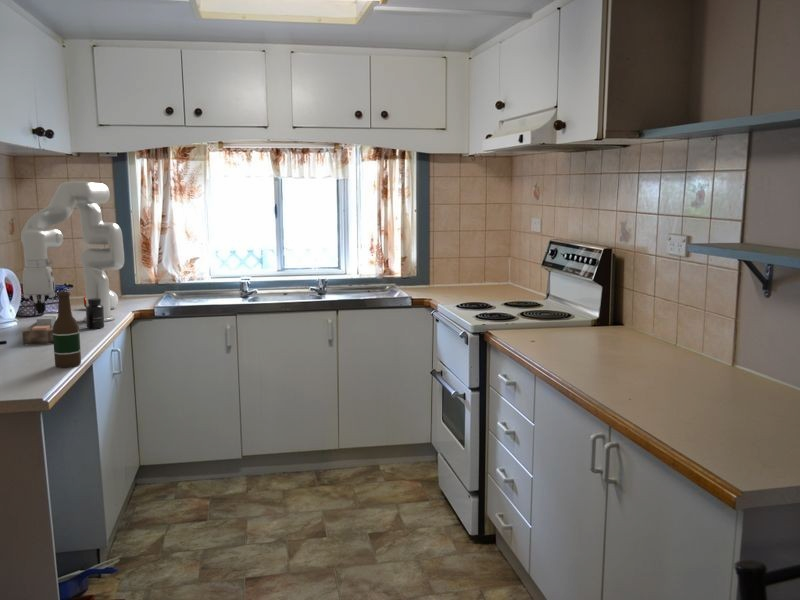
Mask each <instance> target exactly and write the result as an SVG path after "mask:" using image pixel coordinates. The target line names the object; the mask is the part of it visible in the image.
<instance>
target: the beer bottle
mask: <svg viewBox="0 0 800 600" xmlns="http://www.w3.org/2000/svg"><path fill="white" fill-rule="evenodd" d="M70 295H71V293H70V292H69V291H66V290H65V291H59V292H57V297H58V298H57V299H58V302H57V303H58V306H57V307H58V308H57V309H58V310H57V311H58V313H57V314H58V318H57V320H56V321H55V323H54V326H53V342H54V343H53V354H54V357H53V358H54V365H55V367H56V368H59V367H61V368H60V369H66V368H65V367H72V368H75V367H79V366H80V365H81V364H82V355H81V354H82V353H81V351H82V350H81V339H80V338H81V337H80V326H79V324H78V321H77V320H76V318H75V317H74V316H73V312H72V306H71V300H70ZM62 367H63V368H62Z"/></svg>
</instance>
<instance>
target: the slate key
mask: <svg viewBox="0 0 800 600" xmlns="http://www.w3.org/2000/svg"><path fill="white" fill-rule="evenodd" d="M36 322H37V326H47V325H50V327H53V326H54V323H55V319H54V317H42V316H40V317H38V318H36Z"/></svg>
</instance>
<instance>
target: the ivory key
mask: <svg viewBox="0 0 800 600" xmlns="http://www.w3.org/2000/svg"><path fill="white" fill-rule="evenodd" d="M41 317H54V319H55V321H56V320H57V318H58V313H43V315H41Z"/></svg>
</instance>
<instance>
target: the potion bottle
mask: <svg viewBox="0 0 800 600" xmlns="http://www.w3.org/2000/svg"><path fill="white" fill-rule="evenodd" d="M109 293H110V310H111V309H114V308H116V307H117V305H118V304H119V297H118V294H117V293H116V292H115V291H114V290H111V289H109ZM83 306H84V307H85V308H86V307H87V305H86V296H85V297H83Z"/></svg>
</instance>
